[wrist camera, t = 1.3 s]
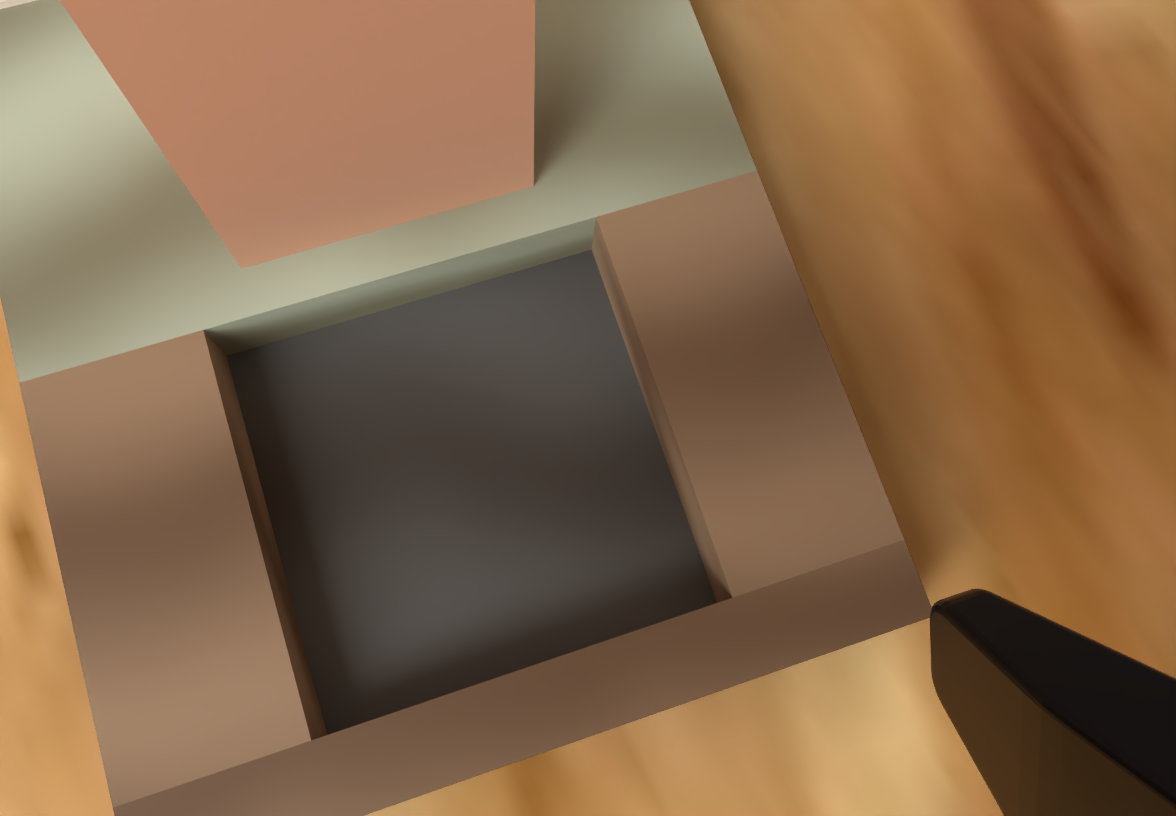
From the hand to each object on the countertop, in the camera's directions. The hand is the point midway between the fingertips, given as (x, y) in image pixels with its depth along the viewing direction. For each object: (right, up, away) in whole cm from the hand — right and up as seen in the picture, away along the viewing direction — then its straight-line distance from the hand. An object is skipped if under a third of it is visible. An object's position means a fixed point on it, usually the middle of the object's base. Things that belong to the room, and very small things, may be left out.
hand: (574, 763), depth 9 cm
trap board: (-6, +12, +17) cm, 22 cm away
